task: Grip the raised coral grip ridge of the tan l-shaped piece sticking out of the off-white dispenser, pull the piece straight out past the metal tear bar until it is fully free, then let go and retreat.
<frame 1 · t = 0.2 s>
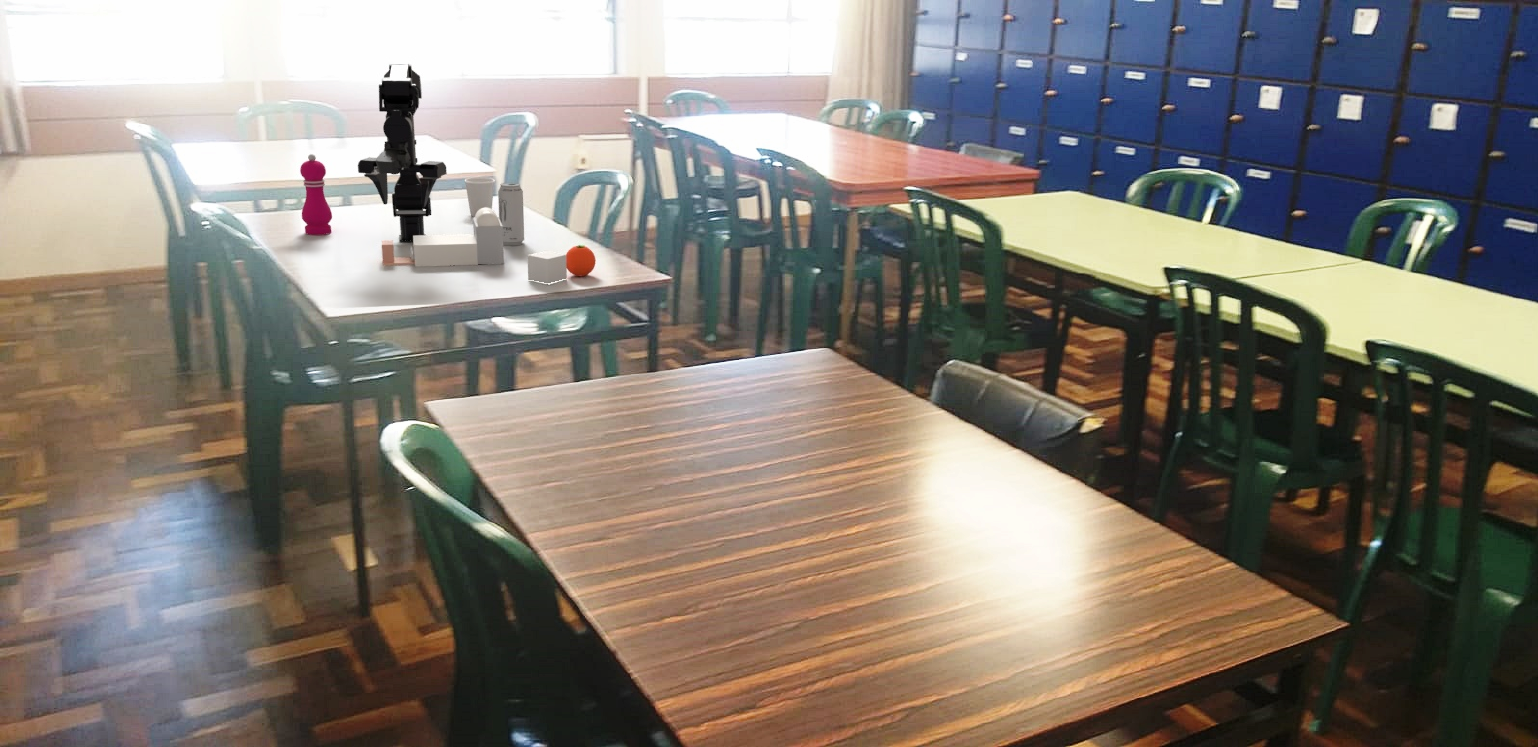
hand: (404, 205, 263), 14 cm above the table, tool pointing down, fingers open, 9 cm apart
dixie cup: (481, 215, 326), on the table
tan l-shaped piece: (414, 263, 270), on the table
grey cube: (547, 282, 257), on the table
energy drink can: (512, 244, 292), on the table
dispenser: (458, 260, 273), on the table
clementine: (580, 276, 263), on the table
pepper mill: (318, 233, 295), on the table
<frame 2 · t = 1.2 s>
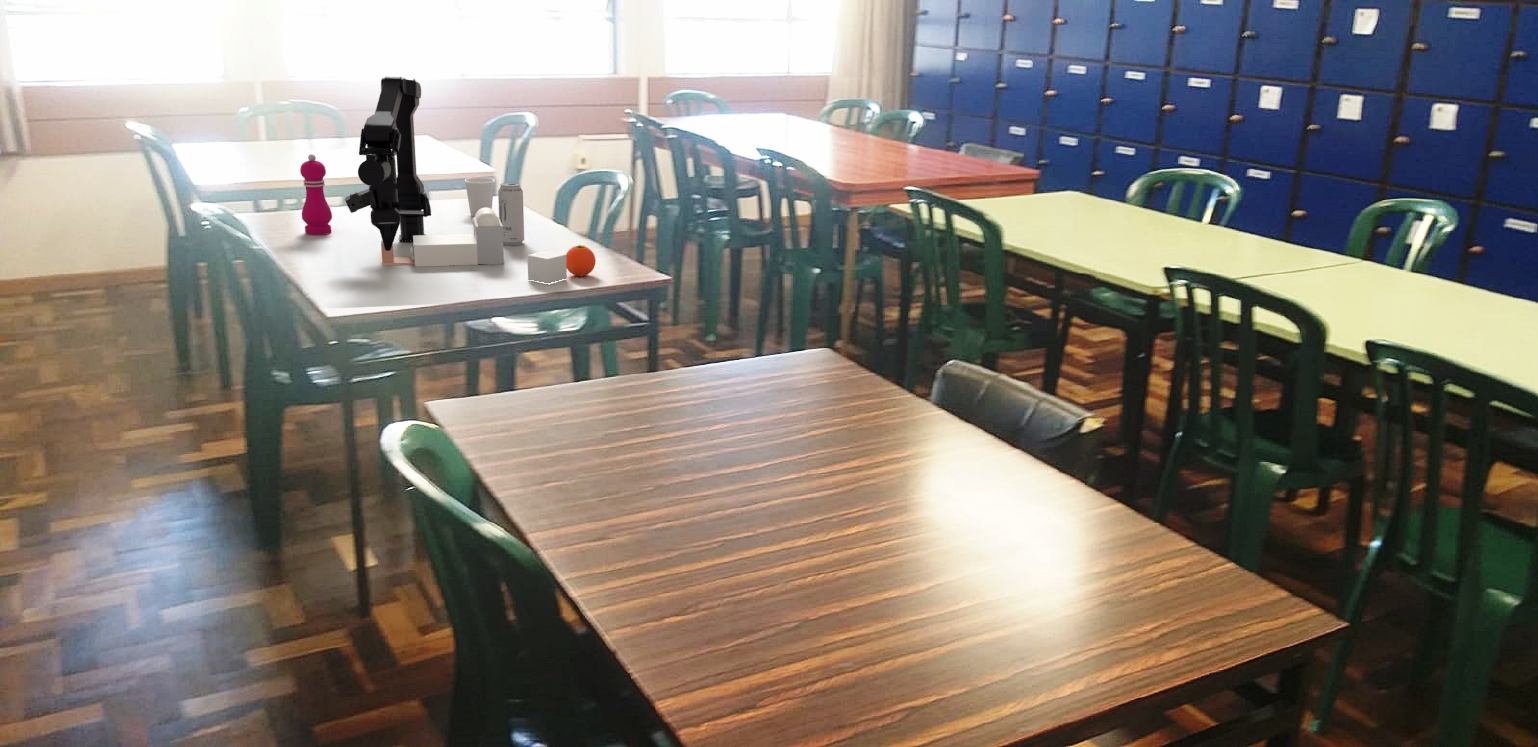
hand: (387, 246, 267), 4 cm above the table, tool pointing down, fingers open, 9 cm apart
nothing on the table moved.
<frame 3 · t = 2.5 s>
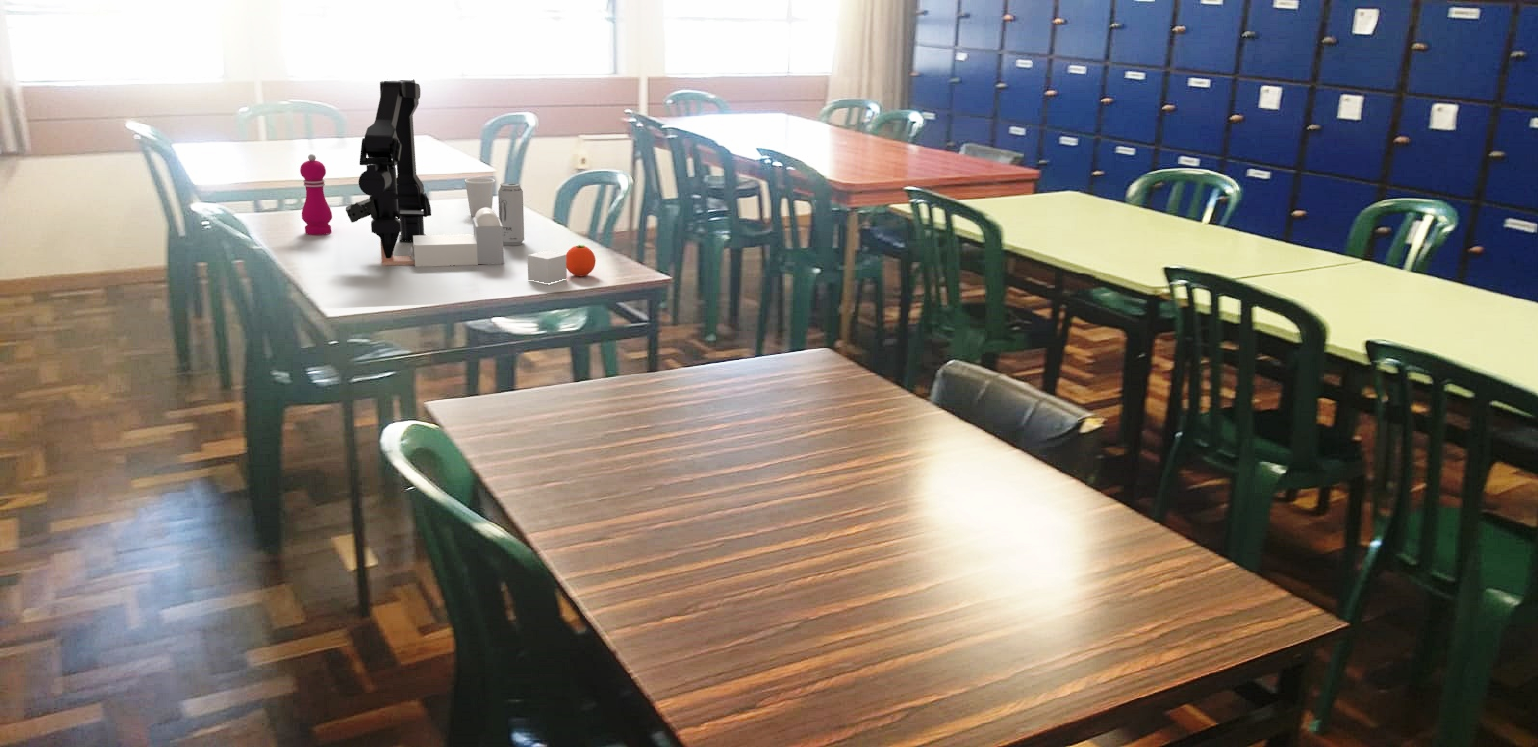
hand: (388, 255, 267), 2 cm above the table, tool pointing down, fingers closed on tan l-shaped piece, 4 cm apart
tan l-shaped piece: (413, 261, 270), on the table, touching gripper
everything else where it was.
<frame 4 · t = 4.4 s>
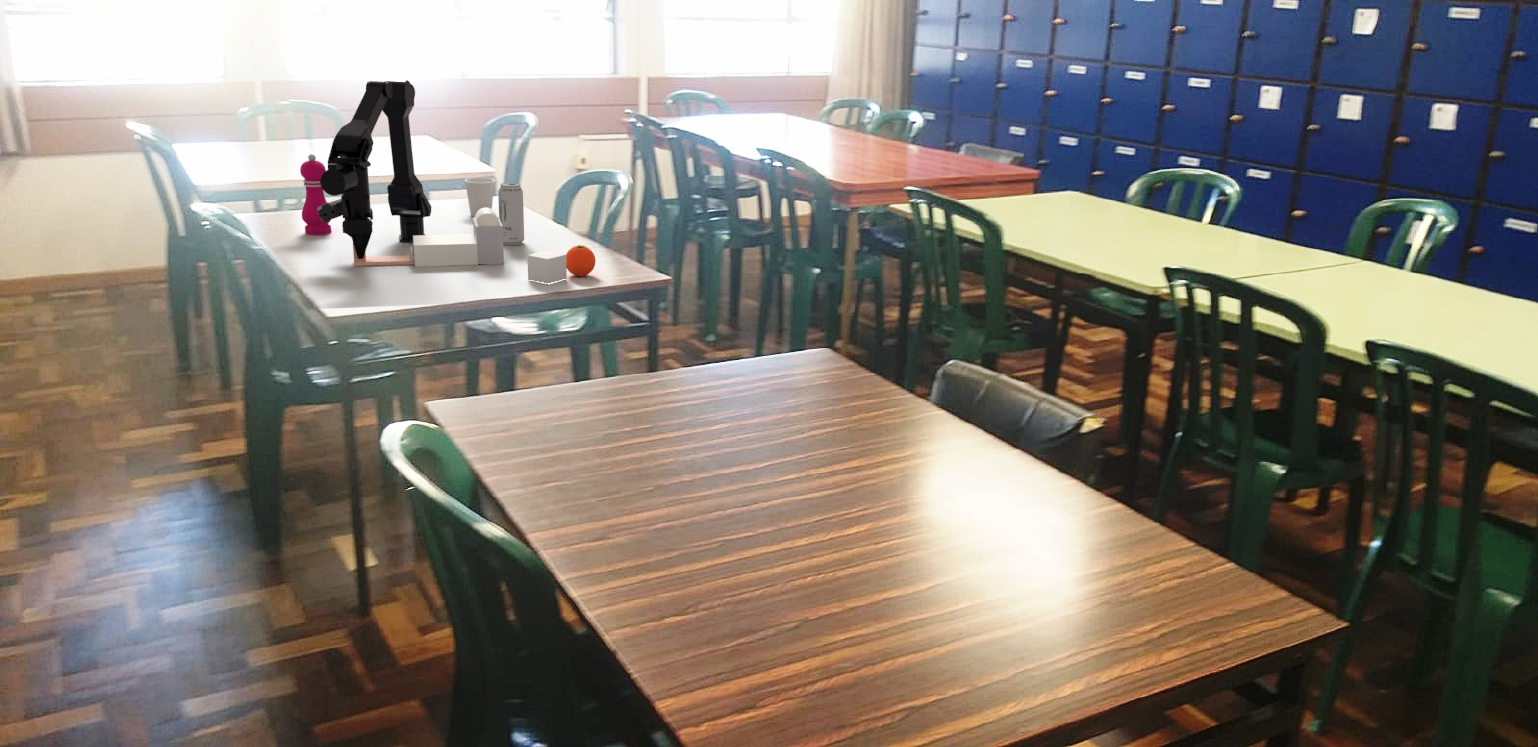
hand: (360, 256, 266), 2 cm above the table, tool pointing down, fingers closed on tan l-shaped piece, 4 cm apart
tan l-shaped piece: (386, 262, 268), on the table, touching gripper
everything else where it was.
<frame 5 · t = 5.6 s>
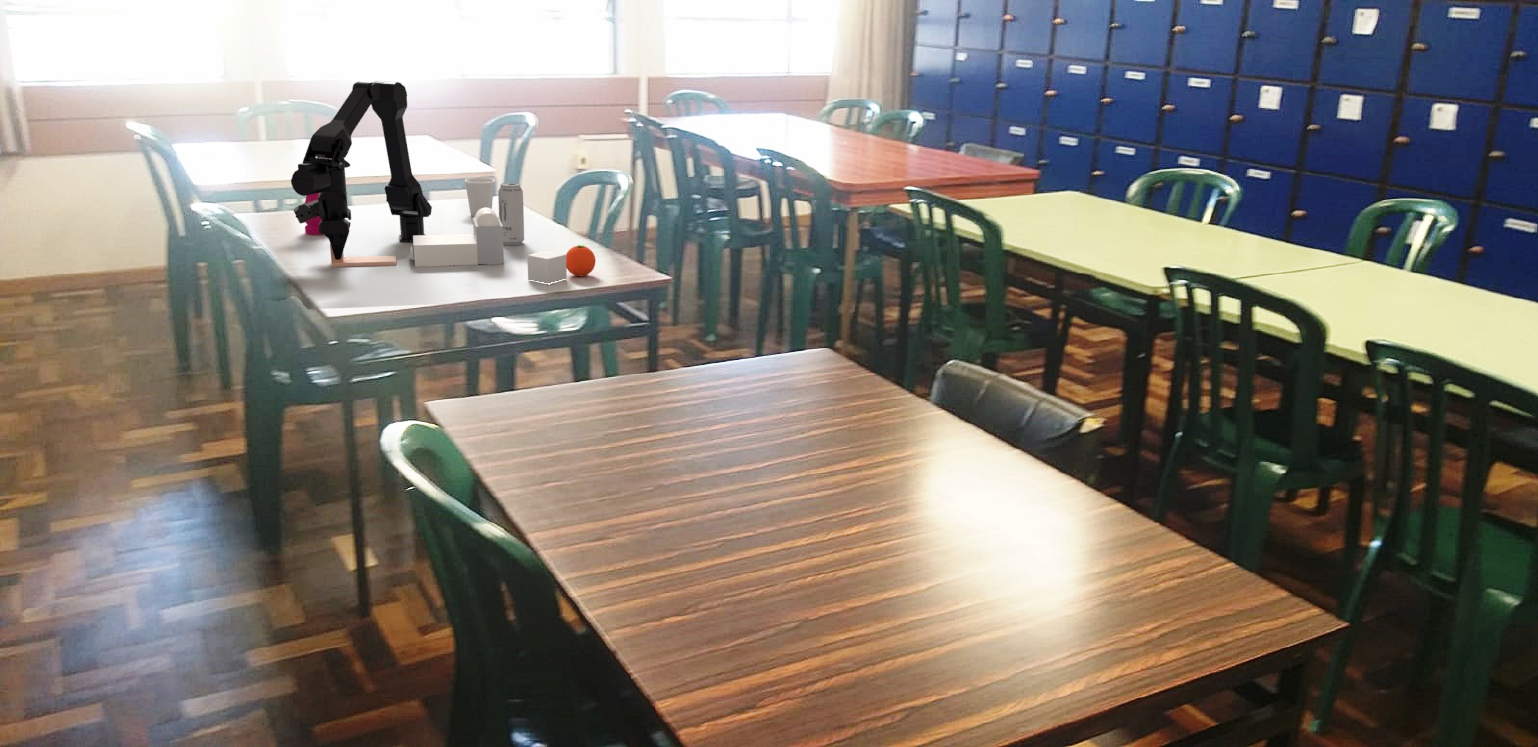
hand: (338, 257, 264), 2 cm above the table, tool pointing down, fingers closed on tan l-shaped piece, 4 cm apart
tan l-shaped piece: (364, 262, 266), on the table, touching gripper
everything else where it was.
when the fingers open (2 cm above the table, at t = 6.6 s): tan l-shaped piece stays where it is, on the table.
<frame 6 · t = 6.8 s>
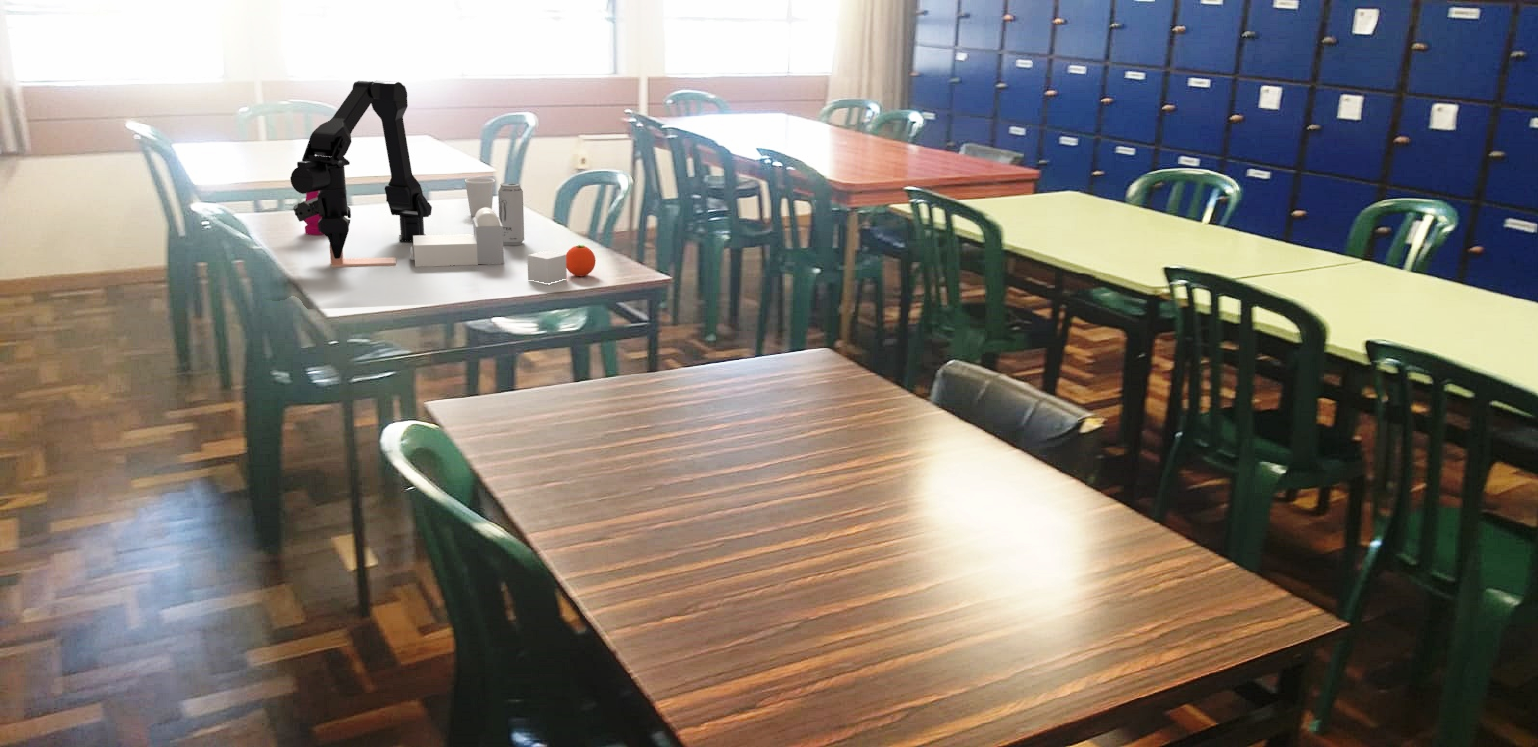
hand: (337, 255, 264), 2 cm above the table, tool pointing down, fingers open, 6 cm apart
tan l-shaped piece: (363, 264, 266), on the table
everything else where it was.
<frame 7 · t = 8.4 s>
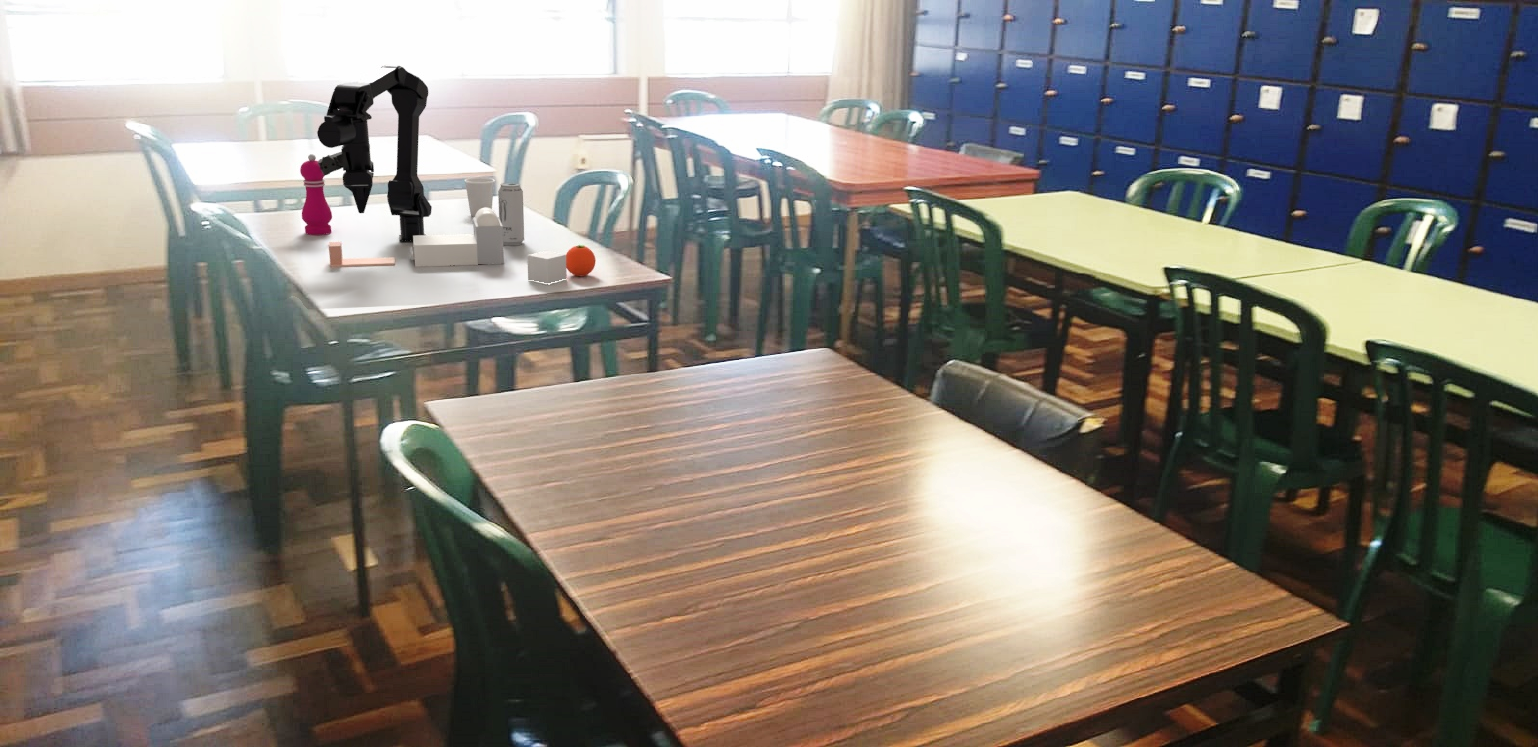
hand: (362, 209, 268), 11 cm above the table, tool pointing down, fingers open, 9 cm apart
nothing on the table moved.
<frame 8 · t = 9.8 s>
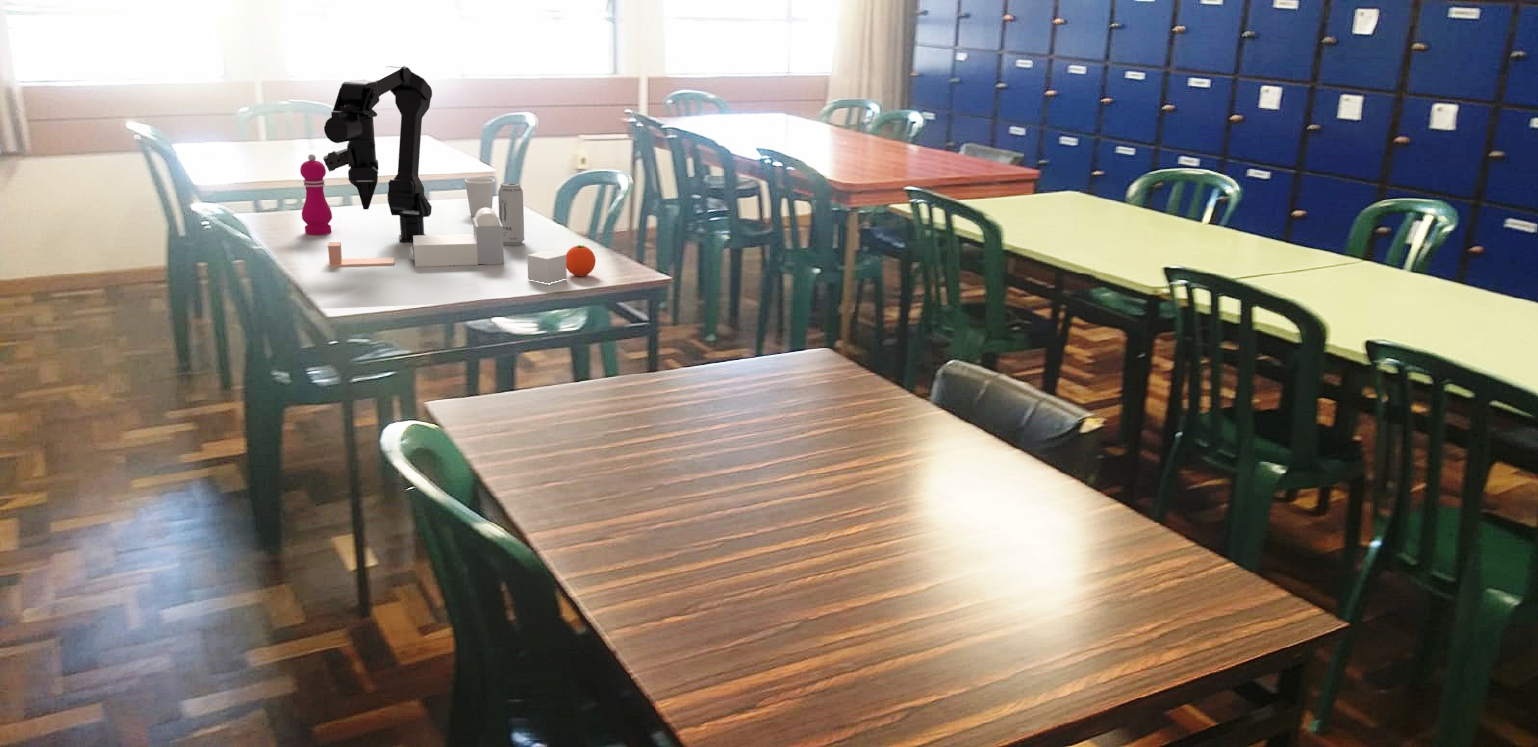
hand: (366, 205, 269), 12 cm above the table, tool pointing down, fingers open, 9 cm apart
nothing on the table moved.
at the end: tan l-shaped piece inside the target area (0.3 cm from its centre), on the table; the gripper is holding nothing; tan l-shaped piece tilted 0° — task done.
